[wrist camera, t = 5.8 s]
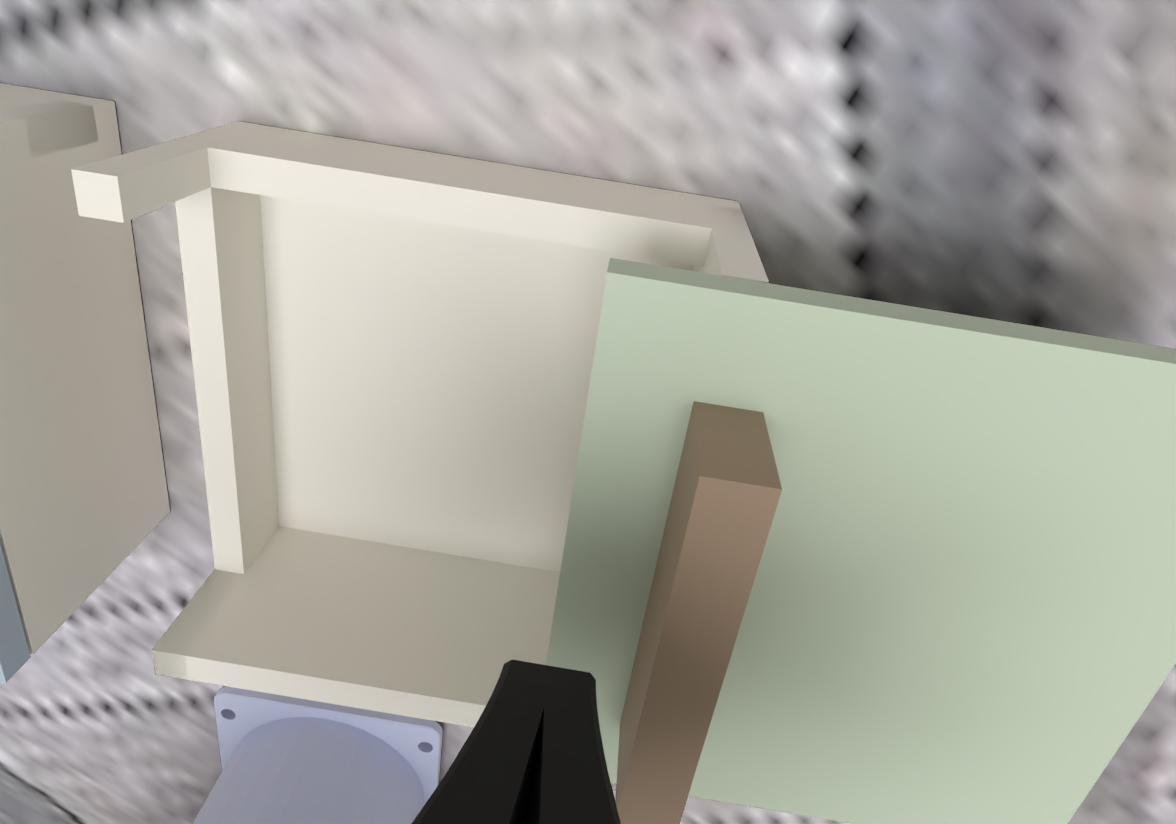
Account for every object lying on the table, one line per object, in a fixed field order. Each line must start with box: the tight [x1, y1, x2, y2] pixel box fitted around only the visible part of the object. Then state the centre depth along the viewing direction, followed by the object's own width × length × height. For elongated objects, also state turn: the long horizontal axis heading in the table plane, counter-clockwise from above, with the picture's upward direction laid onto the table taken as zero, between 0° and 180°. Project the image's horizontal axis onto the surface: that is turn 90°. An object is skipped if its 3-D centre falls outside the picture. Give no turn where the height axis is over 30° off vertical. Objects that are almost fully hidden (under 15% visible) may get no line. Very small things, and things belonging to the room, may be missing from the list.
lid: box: [546, 258, 1176, 824], centre depth 15 cm, size 12×12×3 cm
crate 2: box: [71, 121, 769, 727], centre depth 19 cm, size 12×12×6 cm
